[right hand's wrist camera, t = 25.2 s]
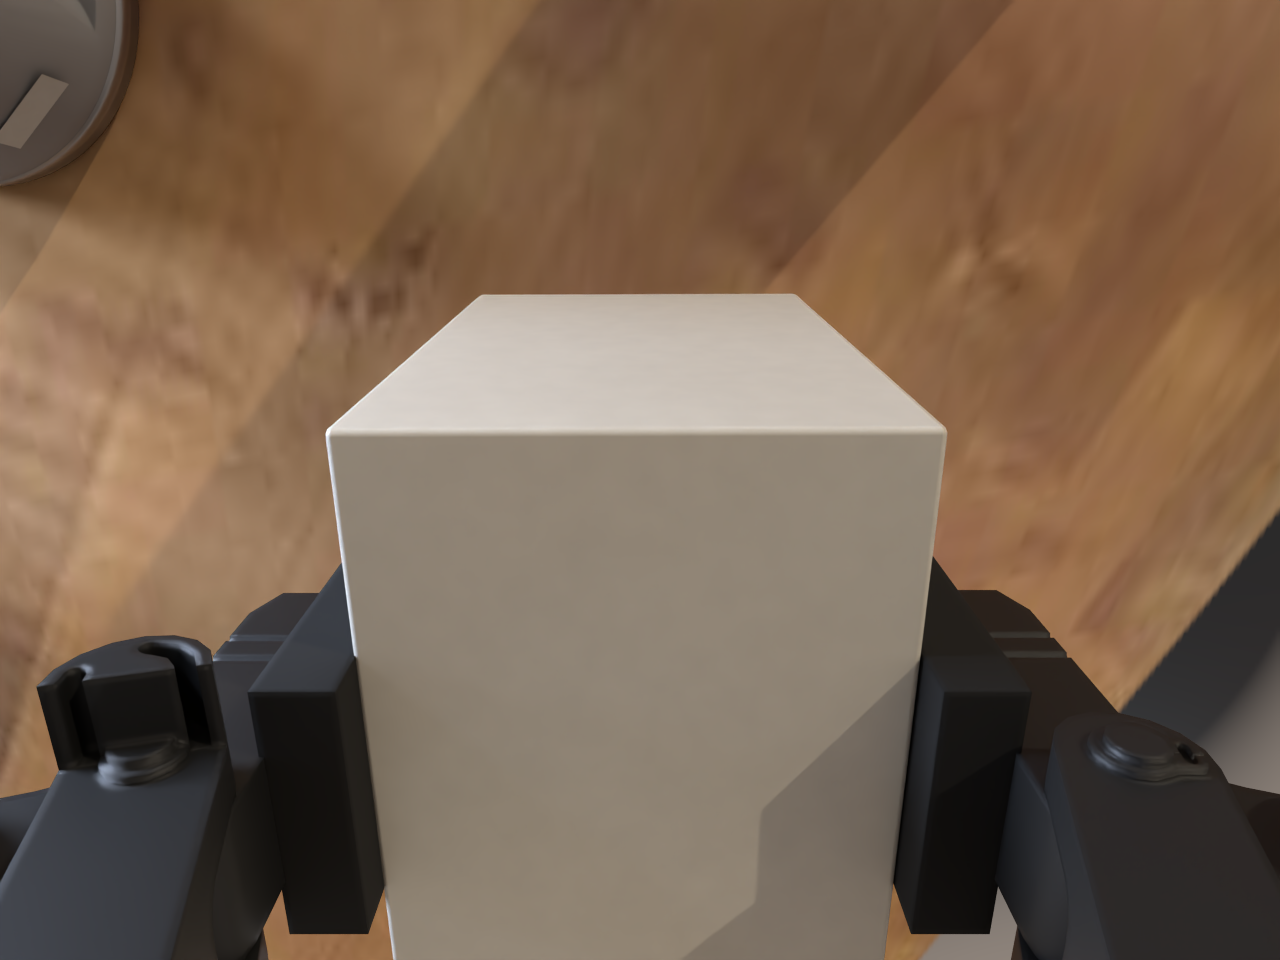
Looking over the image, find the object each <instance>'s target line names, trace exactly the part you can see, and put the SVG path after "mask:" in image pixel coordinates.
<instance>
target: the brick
mask: <svg viewBox="0 0 1280 960" xmlns="http://www.w3.org/2000/svg"><path fill="white" fill-rule="evenodd" d="M946 440H947V430H946V427H944V426H943V425H942V424H941V423H940V422H939V421H938V420H937V419H935V418H934V417H933V416H932V415H931V414H930V413H929V412H928V411H926V410H925V409H924V408H923V407H922V406H921V405H920V404H919V403H917V402H916V401H915V400H914V399H913V398H912V397H911V396H909V395H908V394H907V393H906V392H905V391H904V390H903V389H902V388H900V387H899V386H898V385H897V384H896V383H895V382H894V381H893V380H891V379H890V378H889V377H888V376H887V375H886V374H885V373H884V372H882V371H881V370H880V369H879V368H878V367H877V366H876V365H875V364H873V363H872V362H871V361H870V360H869V359H868V358H867V357H866V356H864V355H863V354H862V353H861V352H860V351H859V350H858V349H857V348H855V347H854V346H853V345H852V344H851V343H850V342H849V341H848V340H846V339H845V338H844V337H843V336H842V335H841V334H840V333H839V332H837V331H836V330H835V329H834V328H833V327H832V326H831V325H830V324H828V323H827V322H826V321H825V320H824V319H823V318H822V317H821V316H819V315H818V314H817V313H816V312H815V311H814V310H813V309H812V308H810V307H809V306H808V305H807V304H806V303H805V302H804V301H802V300H801V299H800V298H799V297H798V296H797V295H795V294H569V295H481V296H479V297H478V298H477V299H475V300H474V301H473V302H472V303H471V304H470V305H469V306H467V307H466V308H465V309H464V310H463V311H462V312H461V313H459V314H458V315H457V316H456V317H455V318H454V319H453V320H451V321H450V322H449V323H448V324H447V325H446V326H445V327H443V328H442V329H441V330H440V331H439V332H438V333H437V334H436V335H434V336H433V337H432V338H431V339H430V340H429V341H428V342H426V343H425V344H424V345H423V346H422V347H421V348H420V349H418V350H417V351H416V352H415V353H414V354H413V355H412V356H410V357H409V358H408V359H407V360H406V361H405V362H404V363H402V364H401V365H400V366H399V367H398V368H397V369H396V370H394V371H393V372H392V373H391V374H390V375H389V376H388V377H386V378H385V379H384V380H383V381H382V382H381V383H380V384H378V385H377V386H376V387H375V388H374V389H373V390H372V391H370V392H369V393H368V394H367V395H366V396H365V397H364V398H362V399H361V400H360V401H359V402H358V403H357V404H356V405H354V406H353V407H352V408H351V409H350V410H349V411H348V412H347V413H345V414H344V415H343V416H342V417H341V418H340V419H339V420H337V421H336V422H335V423H334V424H333V425H332V426H331V427H329V428H328V429H327V432H326V443H327V450H328V458H329V466H330V474H331V481H332V489H333V497H334V504H335V512H336V520H337V528H338V535H339V543H340V551H341V559H342V566H343V574H344V582H345V589H346V597H347V605H348V613H349V620H350V628H351V636H352V643H353V651H354V656H355V657H356V665H357V673H358V681H359V689H360V697H361V705H362V713H363V720H364V728H365V736H366V744H367V752H368V760H369V768H370V776H371V784H372V792H373V800H374V808H375V816H376V824H377V831H378V839H379V847H380V855H381V863H382V871H383V879H384V890H385V898H386V906H387V914H388V921H389V929H390V937H391V944H392V952H393V960H884V955H885V947H886V939H887V930H888V922H889V914H890V905H891V897H892V889H893V881H894V872H895V864H896V856H897V847H898V839H899V831H900V822H901V814H902V806H903V797H904V789H905V781H906V773H907V764H908V756H909V748H910V739H911V731H912V723H913V714H914V706H915V698H916V690H917V681H918V673H919V665H920V656H921V648H922V640H923V631H924V623H925V615H926V606H927V598H928V590H929V582H930V573H931V565H932V557H933V548H934V540H935V532H936V523H937V515H938V507H939V498H940V490H941V482H942V474H943V465H944V457H945V449H946Z"/></svg>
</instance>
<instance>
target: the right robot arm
mask: <svg viewBox="0 0 1280 960" xmlns="http://www.w3.org/2000/svg"><path fill="white" fill-rule="evenodd" d="M138 33H139V6H138V0H0V186H9V185H14V184H19V183H25V182H28V181H31V180H35V179H38V178H41V177H43V176H46V175H48V174H50V173H53V172H55V171H57V170H59V169H60V168H62V167H64V166H65V165H67V164H69V163H71V162H72V161H73V160H75V159H76V158H77V157H79V156H80V155H81V154H82V153H84V152H85V151H86V150H87V149H88V148H89V147H90V146H91V145H92V144H93V143H94V142H95V141H96V140H97V139H98V138H99V137H100V135H101V134H102V133H103V132H104V130H105V129H106V128H107V127H108V125H109V123H110V122H111V120H112V119H113V117H114V115H115V114H116V112H117V110H118V108H119V106H120V104H121V102H122V100H123V98H124V96H125V93H126V90H127V88H128V85H129V82H130V79H131V76H132V71H133V67H134V63H135V59H136V52H137V44H138ZM37 691H38V694H39V698H40V702H41V706H42V709H43V713H44V717H45V720H46V724H47V728H48V731H49V735H50V739H51V743H52V746H53V750H54V754H55V757H56V761H57V765H58V768H59V771H58V773H57V775H56V777H55V779H54V781H53V783H52V785H51V787H50V788H47V789H43V790H39V791H35V792H30V793H25V794H20V795H15V796H10V797H5V798H0V960H268V953H267V947H266V941H265V936H264V931H263V927H264V925H265V923H266V921H267V919H268V917H269V915H270V913H271V911H272V909H273V907H274V905H275V903H276V900H277V898H278V896H279V894H280V892H281V890H282V893H283V898H284V904H285V910H286V915H287V921H288V927H289V932H290V934H368V933H369V930H370V927H371V924H372V922H373V919H374V916H375V913H376V910H377V907H378V904H379V901H380V899H381V896H382V893H383V890H384V879H383V871H382V863H381V855H380V847H379V839H378V831H377V824H376V816H375V808H374V800H373V792H372V784H371V776H370V768H369V760H368V752H367V744H366V736H365V728H364V720H363V713H362V705H361V697H360V689H359V681H358V673H357V665H356V657H355V656H354V651H353V643H352V636H351V628H350V620H349V613H348V605H347V597H346V589H345V582H344V574H343V566H342V563H341V564H340V566H339V567H338V568H337V570H336V571H335V572H334V574H333V575H332V577H331V578H330V579H329V581H328V582H327V583H326V585H325V586H324V588H323V589H322V590H321V592H320V593H283V594H281V595H279V596H278V597H276V598H274V599H273V600H271V601H269V602H268V603H266V604H264V605H263V606H261V607H259V608H258V609H256V610H254V611H253V612H251V613H250V614H249V615H248V616H247V617H246V618H245V619H244V621H243V622H242V623H241V624H240V625H239V626H238V628H237V629H236V630H235V631H234V632H233V634H232V635H231V636H230V641H226V642H225V643H224V644H223V645H222V646H221V648H220V649H219V650H218V651H217V652H216V653H215V655H214V656H213V661H212V656H211V651H210V649H209V648H207V647H206V646H205V645H203V644H202V643H201V642H199V641H198V640H195V639H190V638H185V637H180V636H175V635H171V636H144V637H140V638H135V639H130V640H125V641H120V642H115V643H111V644H108V645H105V646H103V647H100V648H97V649H94V650H91V651H89V652H86V653H83V654H80V655H79V656H77V657H75V658H73V659H72V660H70V661H68V662H66V663H65V664H63V665H61V666H59V667H58V668H56V669H54V670H53V671H52V672H51V673H50V674H49V675H48V676H47V677H46V678H45V679H44V680H43V681H42V682H41V683H40V684H39V685H38V686H37ZM893 883H894V886H895V889H896V892H897V895H898V898H899V900H900V903H901V906H902V909H903V912H904V915H905V918H906V921H907V923H908V926H909V929H910V932H911V934H990V929H991V923H992V917H993V912H994V906H995V900H996V894H997V889H998V887H999V889H1000V891H1001V893H1002V895H1003V897H1004V899H1005V901H1006V903H1007V905H1008V907H1009V909H1010V911H1011V913H1012V916H1013V918H1014V919H1015V922H1016V924H1017V931H1016V936H1015V941H1014V947H1013V952H1012V957H1011V960H1280V794H1276V793H1271V792H1266V791H1261V790H1256V789H1250V788H1246V787H1241V786H1238V785H1234V784H1230V783H1228V781H1227V779H1226V777H1225V776H1224V774H1223V772H1222V770H1221V768H1220V767H1219V766H1218V765H1217V764H1216V763H1215V761H1214V760H1213V759H1212V758H1211V756H1210V755H1209V754H1208V753H1207V752H1206V751H1205V750H1204V749H1203V748H1201V747H1200V746H1198V745H1197V744H1195V743H1194V742H1192V741H1191V740H1189V739H1188V738H1186V737H1185V736H1183V735H1182V734H1180V733H1178V732H1176V731H1174V730H1171V729H1169V728H1166V727H1164V726H1162V725H1159V724H1157V723H1155V722H1152V721H1150V720H1146V719H1141V718H1137V717H1133V716H1129V715H1124V714H1120V713H1118V712H1117V711H1116V710H1115V709H1114V707H1113V706H1112V705H1111V704H1110V703H1109V702H1108V700H1107V699H1106V698H1105V697H1104V696H1103V695H1102V693H1101V692H1100V691H1099V690H1098V689H1097V688H1096V686H1095V685H1094V684H1093V683H1092V682H1091V681H1090V679H1089V678H1088V677H1087V676H1086V675H1085V674H1084V672H1083V671H1082V670H1081V669H1080V668H1079V667H1078V665H1077V664H1076V663H1075V662H1074V661H1073V660H1072V658H1067V653H1066V651H1065V650H1064V649H1063V648H1062V647H1061V646H1060V644H1059V643H1058V642H1057V641H1056V640H1055V639H1054V638H1050V633H1049V632H1048V630H1047V629H1046V628H1045V627H1044V626H1043V625H1042V623H1041V622H1040V621H1039V620H1038V619H1037V618H1036V616H1035V615H1034V614H1033V613H1032V612H1031V611H1030V610H1029V609H1027V608H1026V607H1024V606H1022V605H1021V604H1019V603H1017V602H1016V601H1014V600H1012V599H1010V598H1009V597H1007V596H1005V595H1004V594H1002V593H1000V592H999V591H997V590H957V589H956V587H955V586H954V584H953V583H952V582H951V580H950V579H949V578H948V576H947V575H946V573H945V572H944V571H943V569H942V568H941V567H940V565H939V564H938V563H937V561H936V560H935V558H934V557H932V565H931V573H930V582H929V590H928V598H927V606H926V615H925V623H924V631H923V640H922V648H921V656H920V665H919V673H918V681H917V690H916V698H915V706H914V714H913V723H912V731H911V739H910V748H909V756H908V764H907V773H906V781H905V789H904V797H903V806H902V814H901V822H900V831H899V839H898V847H897V856H896V864H895V872H894V881H893Z"/></svg>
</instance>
